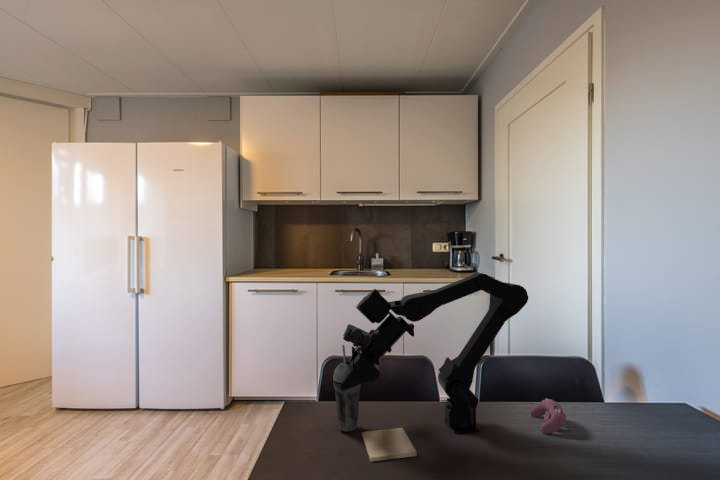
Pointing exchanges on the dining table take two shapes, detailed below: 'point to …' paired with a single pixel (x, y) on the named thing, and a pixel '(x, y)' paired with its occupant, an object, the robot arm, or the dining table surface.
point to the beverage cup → (346, 397)
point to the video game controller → (549, 415)
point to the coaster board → (388, 444)
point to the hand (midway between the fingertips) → (341, 382)
